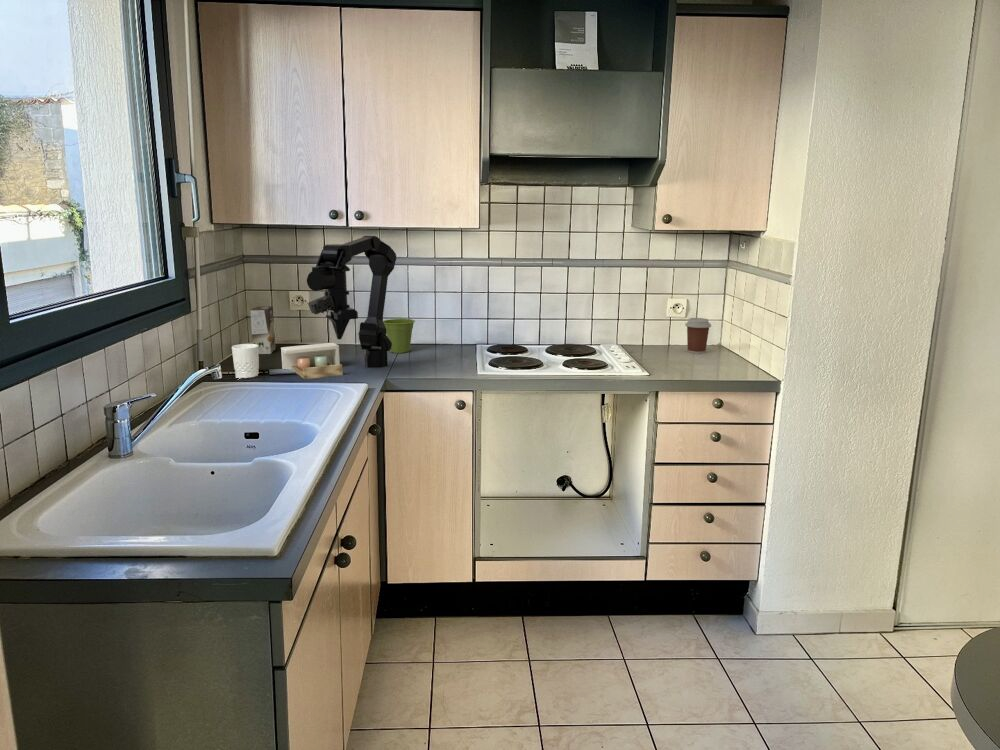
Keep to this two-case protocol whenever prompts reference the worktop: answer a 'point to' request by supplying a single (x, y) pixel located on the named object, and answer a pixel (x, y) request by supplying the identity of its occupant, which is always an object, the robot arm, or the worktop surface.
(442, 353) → the worktop surface
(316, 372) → the tray
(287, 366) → the shelf
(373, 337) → the robot arm
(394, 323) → the plant pot
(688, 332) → the coffee cup
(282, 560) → the worktop surface
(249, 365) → the white cup
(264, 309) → the coffee box
